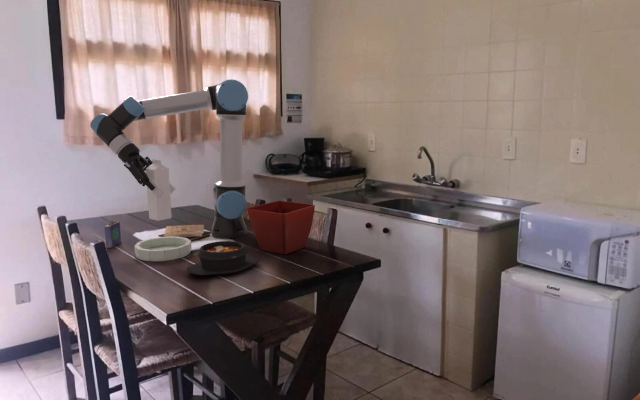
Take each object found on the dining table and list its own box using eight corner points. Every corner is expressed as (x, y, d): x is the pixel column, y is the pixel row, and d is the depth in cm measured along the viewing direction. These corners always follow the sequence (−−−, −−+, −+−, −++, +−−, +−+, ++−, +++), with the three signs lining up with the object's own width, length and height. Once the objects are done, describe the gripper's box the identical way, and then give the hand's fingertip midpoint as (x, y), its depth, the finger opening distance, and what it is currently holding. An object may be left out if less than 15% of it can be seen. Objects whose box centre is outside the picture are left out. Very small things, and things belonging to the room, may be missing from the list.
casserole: (201, 285, 165) (200, 259, 164) (178, 270, 180) (176, 247, 178) (269, 269, 180) (268, 245, 179) (242, 257, 195) (241, 235, 193)
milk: (157, 221, 193) (153, 161, 189) (148, 218, 197) (144, 160, 193) (172, 218, 198) (168, 159, 193) (163, 215, 202) (159, 158, 197)
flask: (110, 248, 207) (108, 222, 205) (103, 248, 208) (101, 222, 206) (122, 242, 216) (120, 217, 214) (116, 242, 217) (113, 216, 215)
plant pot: (247, 250, 203) (245, 207, 200) (280, 239, 218) (279, 199, 215) (284, 258, 192) (283, 213, 188) (316, 247, 206) (316, 205, 203)
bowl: (194, 245, 210) (194, 235, 210) (185, 260, 191) (185, 249, 190) (143, 247, 209) (143, 237, 208) (129, 262, 189) (128, 251, 189)
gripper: (135, 153, 206) (174, 195, 206) (102, 159, 186) (145, 205, 186) (146, 140, 204) (186, 182, 204) (114, 144, 184) (158, 191, 184)
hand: (167, 193), depth 195 cm, fingers closed on milk, 8 cm apart
